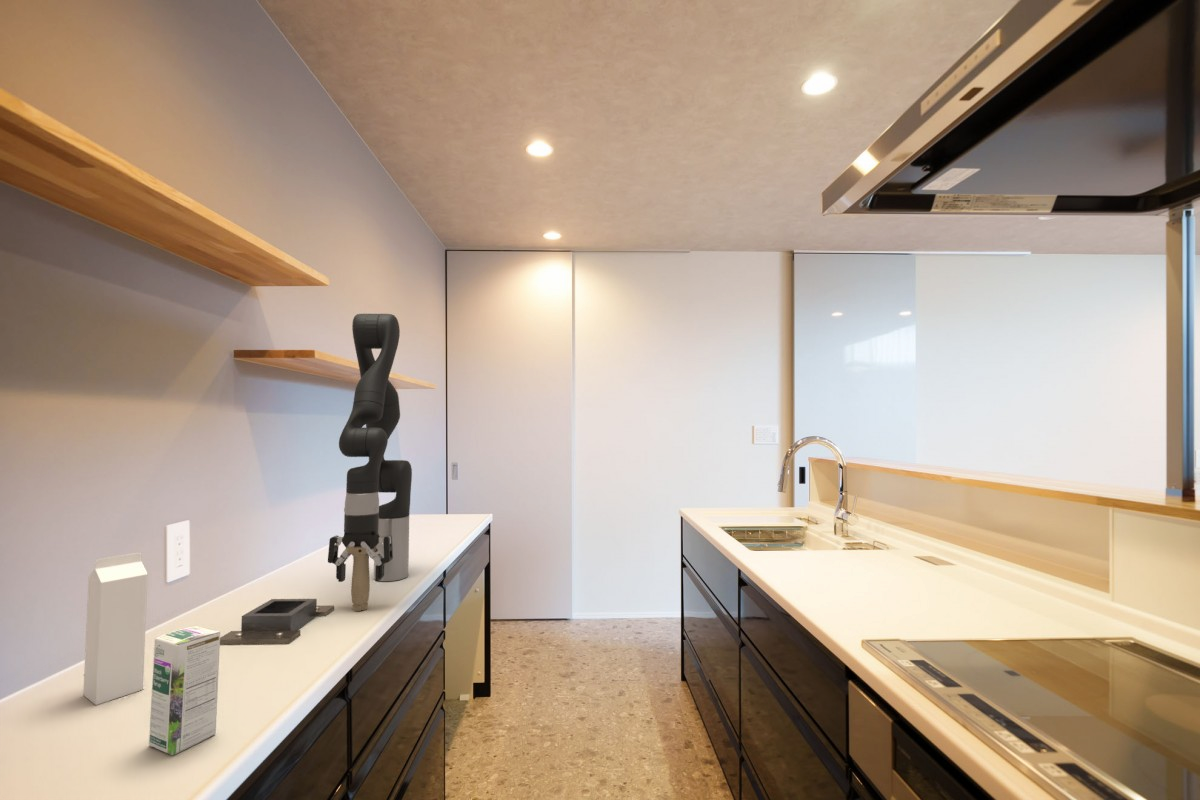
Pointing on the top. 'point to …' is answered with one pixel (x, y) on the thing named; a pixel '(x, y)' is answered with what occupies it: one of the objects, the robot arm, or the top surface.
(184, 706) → the syrup box
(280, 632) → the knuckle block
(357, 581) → the handle
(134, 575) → the milk
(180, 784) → the top surface
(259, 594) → the top surface
